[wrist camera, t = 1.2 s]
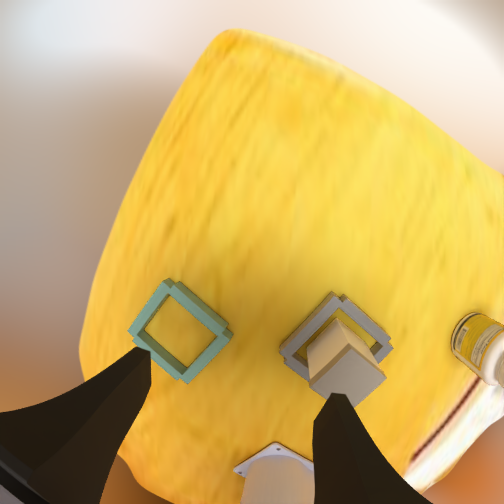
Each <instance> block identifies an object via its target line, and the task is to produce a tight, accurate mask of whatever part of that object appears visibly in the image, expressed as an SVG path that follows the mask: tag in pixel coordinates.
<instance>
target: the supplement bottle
mask: <svg viewBox="0 0 504 504" xmlns="http://www.w3.org/2000/svg"><path fill="white" fill-rule="evenodd" d="M451 346H452V351H453V353H454V355H455V356H456V357H457V358H458V359H459V360H460V361H461V362H463V363H464V364H465V365H466V366H467V367H468V368H469V369H471V370H472V371H473V372H474V373H475V374H476V375H477V376H479V377H480V378H481V379H482V380H483V381H484V382H485V383H487V384H488V385H492V386H494V385H498V384H500V385H501V386H502V387H503V388H504V325H502V324H501V323H499V322H497V321H495V320H493V319H491V318H489V317H487V316H485V315H483V314H481V313H471V314H469V315H467V316H466V317H464V318H463V319H462V320H461V321H460V323H459V324H458V325H457V327H456V329H455V331H454V333H453V336H452V342H451Z"/></svg>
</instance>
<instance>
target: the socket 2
mask: <svg viewBox="0 0 504 504" xmlns="http://www.w3.org/2000/svg"><path fill="white" fill-rule="evenodd" d="M338 308H340V309H341V310H343V311H344V312H345V313H346V314H347V315H348V316H349V317H351V318H352V319H353V320H354V321H355V322H356V323H357V324H359V325H360V326H361V327H362V328H363V329H364V330H365V331H367V332H368V333H369V334H370V335H371V336H372V337H373V338H374V339H376V340H377V341H378V342H377V343H376V344H375V345H374V346H373V347H372V348H371V349H370V351H371V353H372V355H373V356H374V358H375V360H376V362H377V363H378V364H379V363H380V362H381V361H382V360H383V359H384V358H385V357H386V356H387V355H388V354H389V352H390V351H391V350H392V349H393V347H392V345H391V344H390V343H389V342H388V341H389V340H390V339H391V338H390V337H389V335H388V334H387V333H386V332H385V331H384V330H383V329H382V328H381V327H380V326H379V325H377V324H376V323H375V322H374V321H373V320H372V319H371V318H370V317H369V316H368V315H366V314H365V313H364V312H363V311H362V310H361V309H360V308H359V307H358V306H356V305H355V304H354V303H353V302H352V301H351V300H350V299H349V298H348V297H346V296H345V295H344V294H343V295H342V296H341V298H339V297H338V296H337V295H336V294H335V293H333V292H331V293H330V294H329V295H328V296H327V297H326V298H325V299H324V301H323V302H322V303H321V304H320V305H319V306H318V307H317V308H316V309H315V310H314V311H313V312H312V314H311V315H310V316H309V317H308V318H307V319H306V320H305V321H304V322H303V323H302V324H301V325H300V326H299V327H298V328H297V329H296V330H295V331H294V332H293V333H292V334H291V335H290V336H289V337H288V338H287V339H286V340H285V341H284V342H283V343H282V344H281V345H280V350H279V353H280V354H281V355H282V356H284V364H286V365H287V366H288V367H289V368H291V369H292V370H293V371H295V372H296V373H297V374H299V375H300V376H301V377H303V378H304V379H305V380H307V381H308V382H309V380H310V376H309V366H308V361H306V360H305V359H304V358H302V357H301V356H300V355H299V354H297V353H296V351H297V350H298V349H299V348H300V347H301V346H302V345H303V344H304V343H305V342H306V341H307V340H308V339H309V338H310V337H311V336H312V335H313V334H314V333H315V332H316V331H317V330H318V329H319V328H320V327H321V326H322V325H323V324H324V323H325V321H326V320H327V319H328V318H329V317H330V316H331V315H332V314H333V313H334V312H335V311H336V310H337V309H338Z"/></svg>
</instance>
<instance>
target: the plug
mask: <svg viewBox="0 0 504 504" xmlns="http://www.w3.org/2000/svg"><path fill="white" fill-rule="evenodd" d="M307 357H308V366H309V376H310V380H309V385H310V388H311V389H312V390H314V391H315V392H317V393H318V394H319V395H321V396H322V397H324V398H325V399H328V398H329V396H330V395H331V393H341V394H346V396H347V397H348V399H349V401H350V403H351V404H352V406H353V408H354V407H355V406H357V405H358V404H359V403H360V402H361V401H362V400H364V399H365V398H366V397H367V396H368V395H369V394H370V393H371V392H373V391H374V390H375V389H376V388H377V387H378V386H379V385H380V384H381V383H382V382H383V381H384V380H385V379H386V378H387V377H386V376H385V374H384V372H383V371H382V370H381V369H380V367H379V365H378V363H377V362H376V360H375V358H374V356H373V355H372V353H371V351H370V349H369V348H368V346H367V344H366V343H365V341H363V340H362V339H361V338H360V337H359V336H358V335H357V334H355V333H354V332H353V331H352V330H351V329H350V328H348V327H347V326H346V325H345V324H344V323H343V322H341V321H340V320H339V319H338V318H337V317H336V318H335V319H334V320H333V321H332V322H331V323H330V324H329V325H328V326H327V327H326V328H325V329H324V331H323V332H322V333H321V334H320V335H319V336H318V337H317V338H316V339H315V340H314V341H313V342H312V343H311V344H310V345H309V346H308V347H307Z"/></svg>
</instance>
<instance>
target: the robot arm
mask: <svg viewBox="0 0 504 504" xmlns="http://www.w3.org/2000/svg"><path fill="white" fill-rule="evenodd" d="M150 387H151V351H148V350H145V349H142V348H140V347H135V348H133V349H132V350H131V351H129V352H128V353H127V354H125V355H124V356H123V357H121V358H120V359H119V360H117V361H116V362H115V363H113V364H112V365H110V366H109V367H108V368H106V369H105V370H103V371H102V372H100V373H99V374H97V375H96V376H94V377H93V378H91V379H89V380H88V381H86V382H84V383H83V384H81V385H79V386H78V387H76V388H74V389H72V390H70V391H68V392H66V393H64V394H62V395H60V396H57V397H55V398H53V399H50V400H48V401H45V402H43V403H39V404H37V405H33V406H30V407H26V408H22V409H18V410H14V411H8V412H1V413H0V504H99V502H100V499H101V496H102V493H103V490H104V486H105V483H106V480H107V478H108V475H109V472H110V469H111V466H112V464H113V462H114V459H115V456H116V454H117V452H118V449H119V447H120V445H121V443H122V442H123V440H124V438H125V436H126V434H127V433H128V431H129V429H130V427H131V426H132V424H133V422H134V420H135V419H136V417H137V415H138V413H139V411H140V410H141V408H142V406H143V404H144V402H145V399H146V397H147V394H148V392H149V389H150ZM312 446H313V462H311V461H309V460H307V459H305V458H303V457H302V456H300V455H298V454H296V453H294V452H293V451H291V450H289V449H287V448H286V447H284V446H282V445H280V444H279V443H272V444H271V445H269V446H268V447H266V448H265V449H263V450H262V451H260V452H259V453H257V454H256V455H254V456H252V457H251V458H249V459H248V460H246V461H244V462H243V463H241V464H239V465H238V466H236V467H234V469H233V471H234V472H235V473H237V474H239V475H241V476H243V477H245V478H246V480H245V484H244V489H243V493H242V498H241V502H240V504H433V503H431V502H430V501H428V500H427V499H426V498H424V497H423V496H422V495H420V494H419V493H418V492H417V491H416V490H414V489H413V488H412V487H411V486H410V485H409V484H408V483H407V482H406V481H405V480H404V479H403V478H402V477H401V476H400V475H399V474H398V473H397V472H396V471H395V469H394V468H393V467H392V466H391V465H390V464H389V462H388V461H387V460H386V459H385V457H384V456H383V455H382V453H381V452H380V450H379V449H378V447H377V446H376V445H375V443H374V442H373V440H372V438H371V437H370V435H369V434H368V432H367V430H366V429H365V427H364V425H363V424H362V422H361V420H360V418H359V417H358V415H357V413H356V411H355V410H354V408H353V406H352V404H351V403H350V401H349V399H348V397H347V396H346V394H341V393H331V395H330V396H329V398H328V399H327V401H326V403H325V404H324V406H323V408H322V409H321V411H320V412H319V414H318V416H317V417H316V419H315V420H314V425H313V440H312Z"/></svg>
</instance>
